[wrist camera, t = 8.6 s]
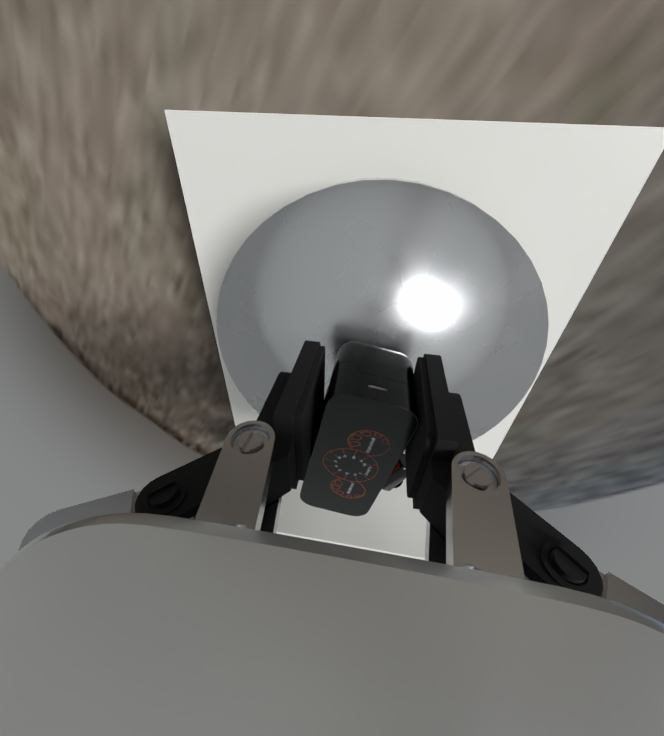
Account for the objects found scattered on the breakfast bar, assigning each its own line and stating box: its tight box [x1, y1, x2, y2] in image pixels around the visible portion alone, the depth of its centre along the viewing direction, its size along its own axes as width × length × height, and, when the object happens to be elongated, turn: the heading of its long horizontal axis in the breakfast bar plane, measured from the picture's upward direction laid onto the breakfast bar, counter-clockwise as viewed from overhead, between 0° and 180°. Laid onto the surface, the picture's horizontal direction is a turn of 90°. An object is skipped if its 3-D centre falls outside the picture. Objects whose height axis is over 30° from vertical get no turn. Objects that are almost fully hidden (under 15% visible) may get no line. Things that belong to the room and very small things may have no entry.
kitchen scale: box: [165, 110, 664, 560], centre depth 14 cm, size 18×16×9 cm
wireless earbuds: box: [300, 341, 419, 516], centre depth 12 cm, size 5×7×3 cm, turn 168°
